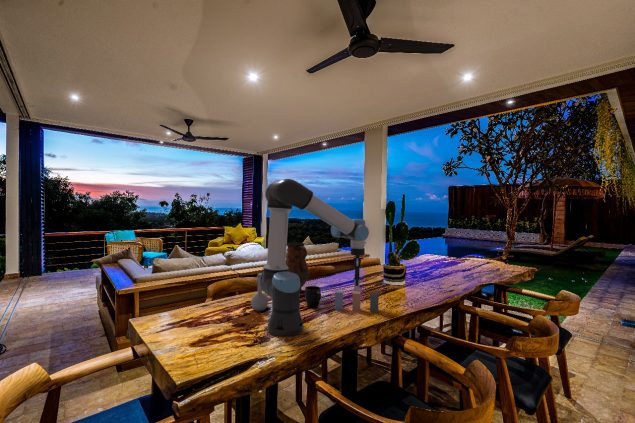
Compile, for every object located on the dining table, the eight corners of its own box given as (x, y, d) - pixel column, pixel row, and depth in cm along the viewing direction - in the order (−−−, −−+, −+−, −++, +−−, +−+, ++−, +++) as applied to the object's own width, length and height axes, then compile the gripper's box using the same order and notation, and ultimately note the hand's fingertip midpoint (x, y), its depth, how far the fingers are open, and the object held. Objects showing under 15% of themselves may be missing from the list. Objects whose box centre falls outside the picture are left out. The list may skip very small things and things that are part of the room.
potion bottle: (271, 308, 152) (272, 273, 152) (257, 312, 146) (257, 276, 145) (261, 304, 158) (261, 270, 158) (247, 308, 152) (247, 273, 151)
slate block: (342, 310, 151) (342, 292, 151) (334, 309, 152) (335, 292, 152) (342, 307, 155) (343, 290, 155) (335, 307, 156) (335, 290, 156)
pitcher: (300, 286, 194) (301, 240, 193) (316, 295, 176) (317, 244, 175) (276, 289, 185) (277, 242, 185) (291, 299, 167) (292, 246, 167)
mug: (312, 311, 148) (312, 292, 148) (302, 304, 159) (302, 286, 159) (326, 309, 152) (326, 290, 152) (315, 302, 163) (316, 285, 163)
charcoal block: (378, 312, 149) (378, 295, 149) (370, 312, 149) (370, 294, 149) (377, 310, 153) (378, 292, 153) (369, 309, 153) (370, 292, 153)
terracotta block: (360, 311, 150) (360, 293, 150) (352, 311, 151) (352, 293, 150) (360, 308, 154) (360, 291, 154) (352, 308, 155) (352, 291, 154)
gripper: (365, 249, 153) (363, 295, 153) (364, 246, 166) (363, 288, 166) (350, 249, 154) (349, 294, 155) (351, 245, 167) (350, 287, 167)
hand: (356, 291), depth 160 cm, fingers closed
